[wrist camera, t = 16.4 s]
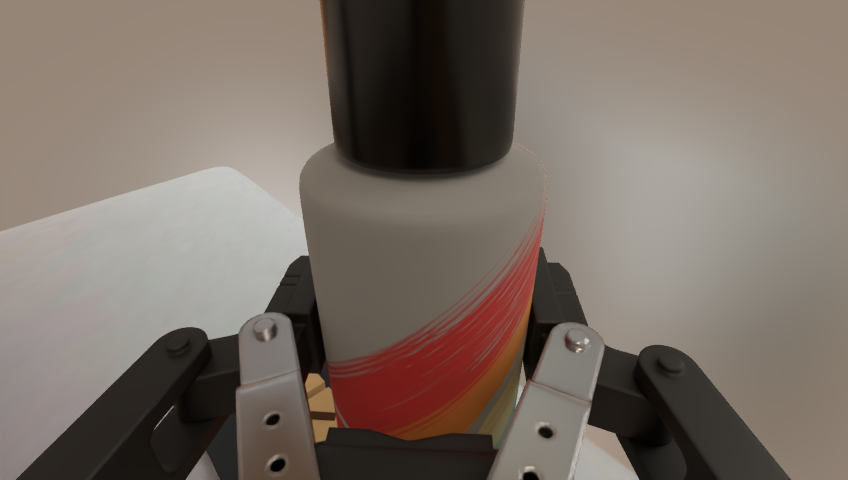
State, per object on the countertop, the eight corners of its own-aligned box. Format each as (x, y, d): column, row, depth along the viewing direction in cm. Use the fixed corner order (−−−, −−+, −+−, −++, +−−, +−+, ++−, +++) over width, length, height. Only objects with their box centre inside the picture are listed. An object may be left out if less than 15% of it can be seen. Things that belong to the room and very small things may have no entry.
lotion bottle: (334, 580, 16) (164, -128, 6) (376, 440, 21) (323, -87, 11) (493, 614, 15) (630, -149, 5) (498, 459, 20) (574, -94, 10)
